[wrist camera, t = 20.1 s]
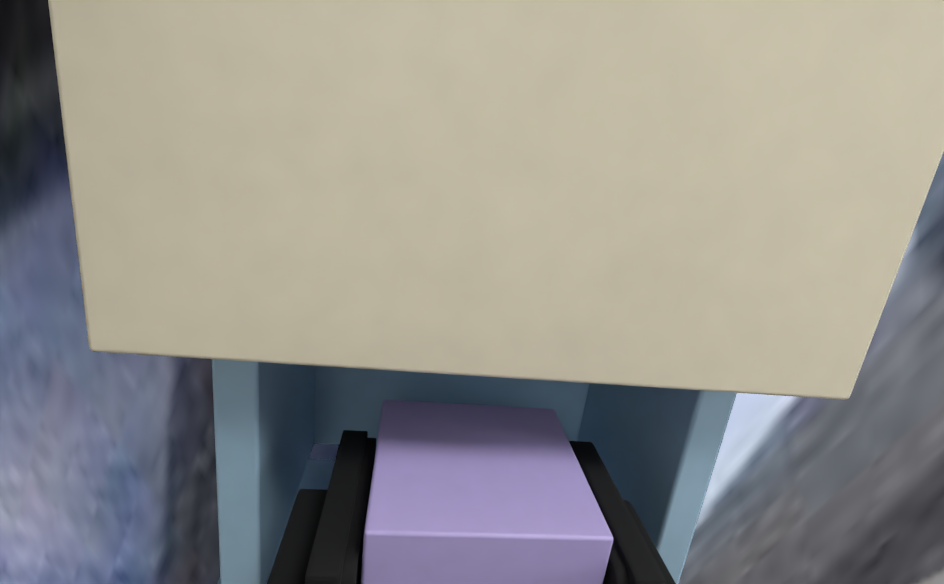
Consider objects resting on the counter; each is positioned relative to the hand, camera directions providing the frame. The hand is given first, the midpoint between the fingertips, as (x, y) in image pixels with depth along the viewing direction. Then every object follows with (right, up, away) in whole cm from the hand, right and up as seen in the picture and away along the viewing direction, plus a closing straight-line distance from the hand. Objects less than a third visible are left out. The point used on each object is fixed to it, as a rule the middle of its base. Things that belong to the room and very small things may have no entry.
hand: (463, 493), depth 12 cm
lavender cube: (0, 0, +1) cm, 1 cm away
